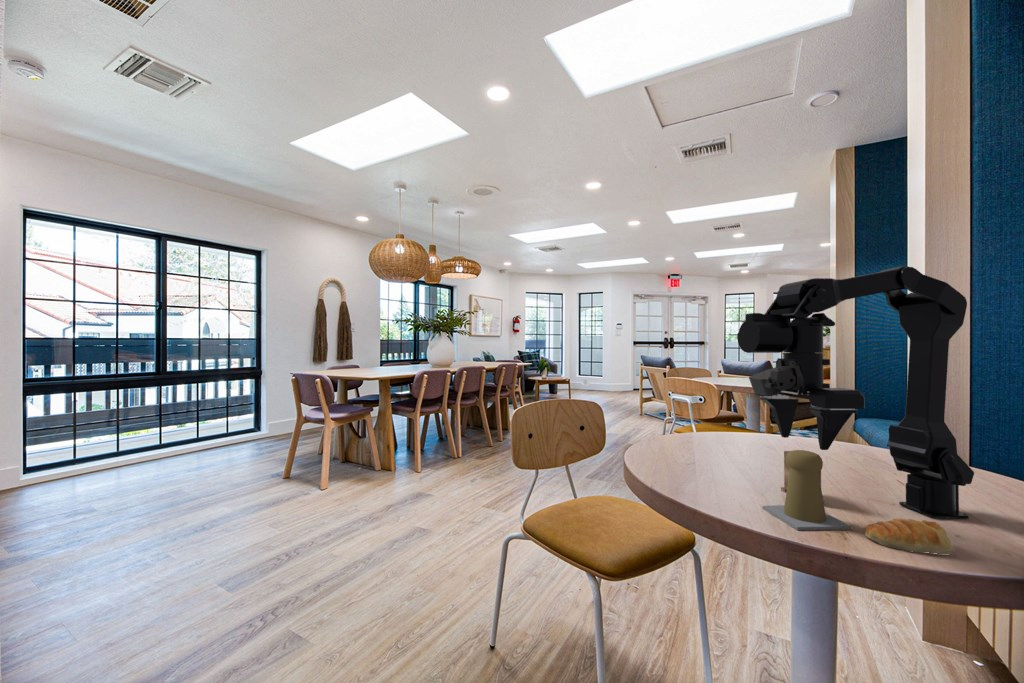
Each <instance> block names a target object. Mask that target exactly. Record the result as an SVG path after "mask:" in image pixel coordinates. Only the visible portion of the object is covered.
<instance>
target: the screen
mask: <svg viewBox="0 0 1024 683" xmlns="http://www.w3.org/2000/svg"><path fill="white" fill-rule="evenodd" d="M790 451H791V450H784V451H783V463H784V464H783V465H784V466H783V467H784V468H783V470H784V471H783V473H784V474H783V475H784V477H783V479H784V480H783V482H784V484H783V485H784V486H782V487H780V491H782V492H784V493H786V492H787V485H788V479H789V472H790V468H789V467H788V465H787V462H786V456H787V454H788V453H789V452H790ZM819 478H820V484H821V485H822V470H821V471H820V472H819ZM823 502H824V505H825V504H826V501H825V500H824V499H823Z"/></svg>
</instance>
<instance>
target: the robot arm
mask: <svg viewBox="0 0 1024 683" xmlns="http://www.w3.org/2000/svg"><path fill="white" fill-rule="evenodd" d="M903 290H908V291H909V292H910V293H906V292H904V291H903ZM776 293H777V294H776V296H775V299H774V300H773V301H772V303H771V304H770V306H769V308H768V309H767V310H766V311H765V313H760V312H751V313H746V314H745V317H744V318H745V320H744V321H743V322H742V323H741V325H740V327H739V330H738V332H737V334H736V338H737V343H738V346H739V348H740V349H741V350H742V351H743V353H747V354H749V353H750V354H757V353H759V354H769V353H771V354H773V353H774V354H777V353H779V354H780V353H782V358H777V359H776V361H775V367H773V368H772V367H771V368H769V369H765V370H764V371H761V372H758V373H755V374H752V375H750V376H748V379H749V382H750V385H751V388H752V390H753V393H754V396H760V397H758V399H759V400H760V401H763V402H764V403H765V404H766V405H767V406H768V407H769V408H770V410H771V412H772V415H773V417H774V420H775V423H776V425H777V427H778V428H777V429H778V430H779V434H780V436H781V437H782V438H784V439H785V438H789V437H790V435H791V432H792V427H793V423H794V419H795V416H796V411H797V408H798V404H799V399H804V400H808V401H809V403H810V405H812V406H811V407H810V406H809V407H808V409H809V411H810V412H811V414H813V415H814V416H815V418H816V428H817V440H818V446H819V449H820V450H821V451H827V450H829V449H830V447H831V446H832V444H833V442H834V440H836V438H837V436H838V435H839V432H841V430H842V428H843V427H844V425H845V424H846V423H847V422H848V421H849V419H850V417H851V416H852V415H853V414H858V410H861V409H862V410H865V408H866V406H865V405H866V404H865V403H866V402H865V401H866V400H865V398H866V397H865V395H864V393H862V392H861V391H860V390H859V389H853V388H852V389H851V388H845V387H844V388H842V387H831V383H825V382H824V366H831V360H830V359H829V358H824V327H825V328H827V327H834V326H836V322H835V321H833V320H832V319H831V318H830V317H828V316H827V315H826V314H825V313H824V311H826V310H829V309H831V308H833V307H836V306H837V305H839V304H841V302H844V301H846V300H851V299H856V298H861V297H866V296H871V295H872V296H873V295H876V294H882V293H883V294H884V296H885V300H886V304H887V305H888V306H889V307H890V308H891V309H893V310H894V311H896V312H897V313H898V316H899V317H898V318H899V325H900V327H901V329H902V330H903V331H904V332H905V333H906V335H907V337H908V338H909V351H908V352H909V354H908V364H907V365H908V370H907V383H906V384H907V385H906V400H905V414H904V418H902V420H901V421H900V422H899V423H898V424H896V425H895V424H890V426H889V427H888V441H887V444H886V447H889V454H890V456H891V457H892V459H893V461H894V464H895V467H896V468H895V469H896V470H897V471H899V472H903V473H906V477H907V478H906V481H907V482H905V501H899V503H898V504H899V505H900V506H902V507H904V508H907V509H909V510H911V511H914V512H917V513H920V514H921V515H924V516H928V517H930V518H933V519H969V518H970V515H969V514H968V513H965V512H962V511H960V503H959V502H960V500H959V499H960V495H959V494H960V493H959V490H960V489H959V486H961V487H965V486H967V485H971V484H972V481H973V479H974V475H975V471H974V470H973V469H972V468H971V467H970V466H969V464H968V463H966V461H965V460H963V459H962V457H961V456H960V455H959V454H958V448H957V438H956V437H955V436H954V434H953V433H952V430H950V428H949V427H948V425H947V424H946V422H945V413H946V411H945V410H946V400H947V399H946V397H947V395H946V394H947V382H948V381H947V380H948V378H947V377H948V364H949V362H948V361H949V347H950V340H951V339H952V337H953V336H955V334H956V333H957V332H958V331H959V329H961V328H962V327H963V325H964V321H965V317H966V312H967V307H968V301H967V298H966V296H964V295H963V294H962V293H961V292H960V291H958V290H957V289H956V288H954V287H953V286H951V285H950V284H949V283H948V282H946V281H943V280H941V279H937V278H934V277H931V276H929V275H926V274H923V273H922V272H920V271H919V270H918V269H917V268H915V267H913V266H908V265H903V266H898V267H893V268H887V269H883V270H880V271H879V272H873V273H868V274H863V275H857V276H853V277H847V278H843V279H836V278H833V277H832V278H830V277H828V278H827V277H825V278H823V277H822V278H819V277H816V278H808V279H804V280H799V281H794V282H789V283H785V284H783V285H781V286H780V287H779V289H778V291H777V292H776ZM792 319H793V320H792Z"/></svg>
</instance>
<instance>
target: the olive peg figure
mask: <svg viewBox="0 0 1024 683" xmlns="http://www.w3.org/2000/svg"><path fill="white" fill-rule="evenodd" d="M789 451H790V452H789V453H788V454H787V456H786V462H787V465H788V467H789V468H790V472H789V479H788V485H787V492H785V499H784V500H785V501H784V504H783V505H784V513H785V514H786V515H788V516H790V517H792V518H794V519H797V520H801V521H806V522H815V523H819V522H825V521H826V514H825V513H826V508H825V504H824V502H823V500H824V497H823V496H824V495H823V491H822V483H821V484H820V478H819V472H820V471H821V472H822V470H823V465H824V461H823V458H822V457H821V455H819V454H818V453H816V452H813V451H810V450H804V449H794V450H789Z"/></svg>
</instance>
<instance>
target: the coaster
mask: <svg viewBox="0 0 1024 683" xmlns="http://www.w3.org/2000/svg"><path fill="white" fill-rule="evenodd" d="M784 505H785V504H783V505H782V504H781V505H762V507H761V509H762V510H764V511H766V512H768V513H769V514H770V515H772V516H773V517H775V518H776V519H778V520H780V521H781V522H783V523H785V524H786V525H789V526H790V527H792V528H793V529H794V530H797V531H826V530H828V531H829V530H832V531H835V530H838V531H840V530H842V531H843V530H853V529H852V528H853V527H852V525H850V524H849V523H846V522H844V521H843V520H840V519H838V518H836V517H834V516H832V515H831V514H829V513H827V512H825V514H826V521H825V522H819V523H815V522H806V521H801V520H797V519H794V518H792V517H790V516H788V515H786V514H785V513H784Z"/></svg>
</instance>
